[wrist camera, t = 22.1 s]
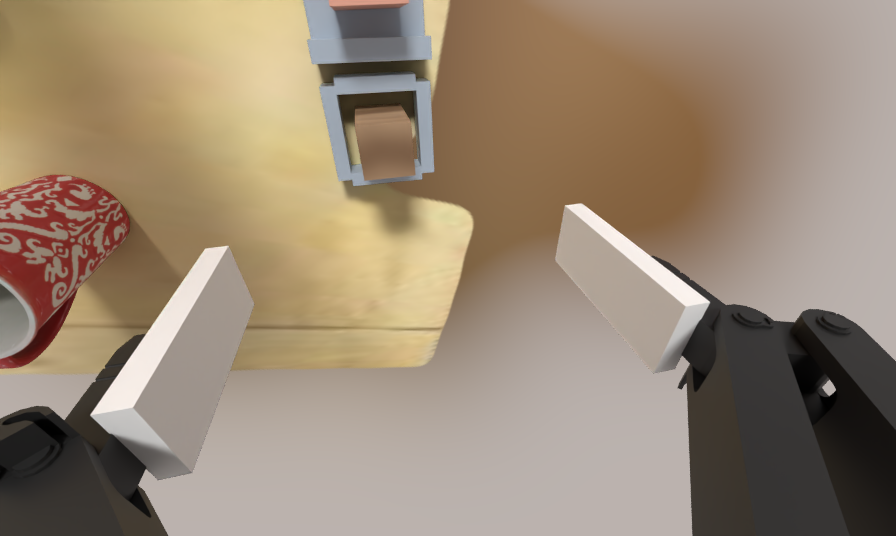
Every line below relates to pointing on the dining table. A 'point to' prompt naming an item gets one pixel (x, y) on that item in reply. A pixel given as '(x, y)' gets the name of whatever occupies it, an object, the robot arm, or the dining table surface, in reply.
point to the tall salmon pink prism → (366, 4)
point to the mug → (49, 257)
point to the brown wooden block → (384, 141)
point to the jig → (371, 41)
